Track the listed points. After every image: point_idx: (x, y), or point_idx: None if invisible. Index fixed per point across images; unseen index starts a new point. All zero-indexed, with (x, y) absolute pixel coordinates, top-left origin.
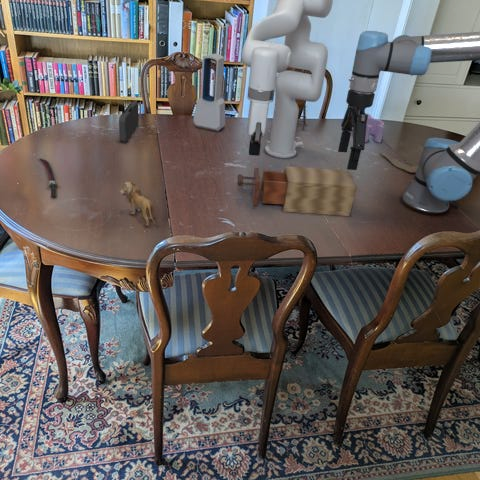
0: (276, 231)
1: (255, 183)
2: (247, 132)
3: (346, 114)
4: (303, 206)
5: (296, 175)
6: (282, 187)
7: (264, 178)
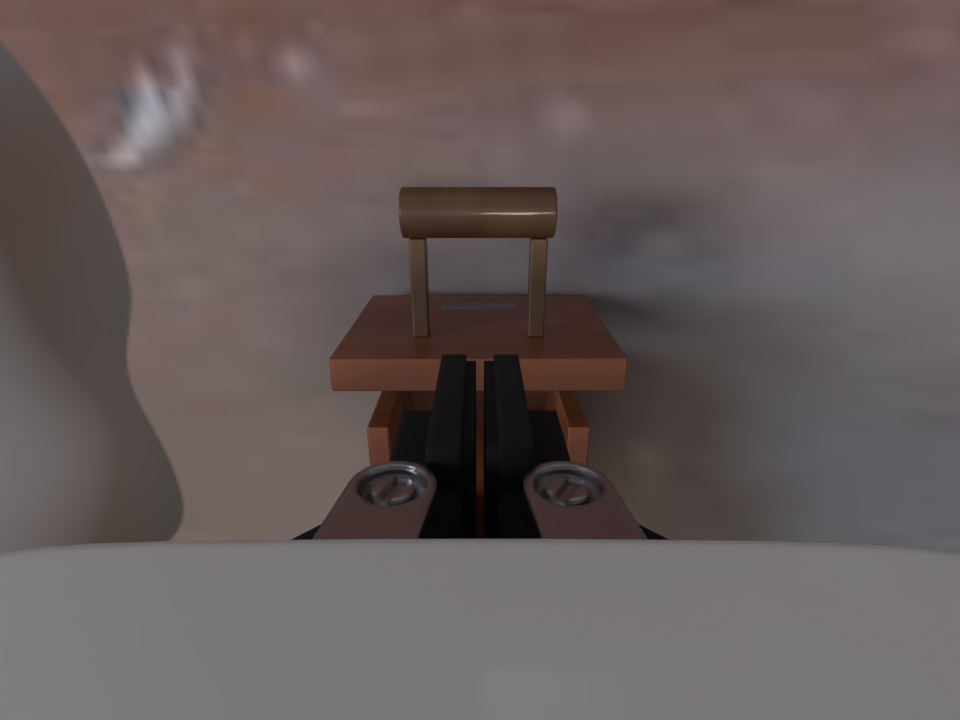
0: (144, 406)
1: (366, 345)
2: (213, 541)
3: None
4: None
5: None
6: None
7: (558, 412)
